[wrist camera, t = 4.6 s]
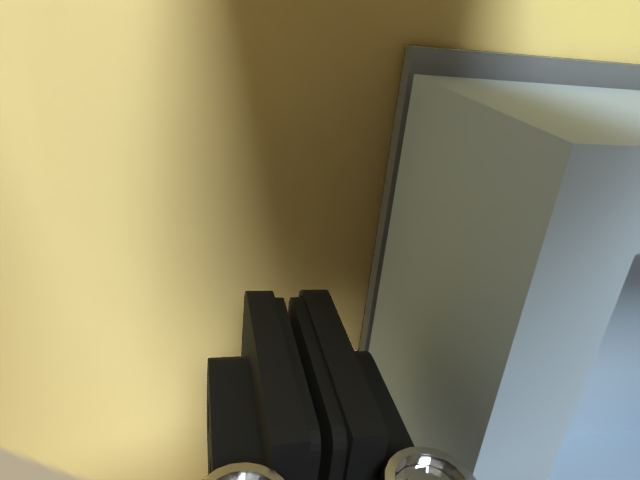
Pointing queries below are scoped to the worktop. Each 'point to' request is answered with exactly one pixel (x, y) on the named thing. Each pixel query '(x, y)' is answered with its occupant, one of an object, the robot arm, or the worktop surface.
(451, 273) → the holder
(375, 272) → the mat
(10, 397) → the worktop surface
